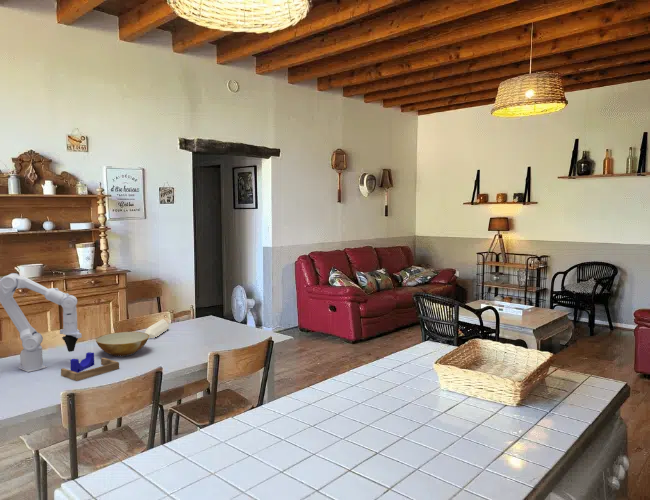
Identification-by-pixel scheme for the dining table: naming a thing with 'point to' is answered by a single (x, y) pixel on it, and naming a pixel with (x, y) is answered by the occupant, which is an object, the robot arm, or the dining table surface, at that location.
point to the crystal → (157, 328)
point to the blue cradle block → (82, 363)
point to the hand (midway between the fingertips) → (71, 351)
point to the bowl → (122, 342)
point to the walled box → (91, 370)
